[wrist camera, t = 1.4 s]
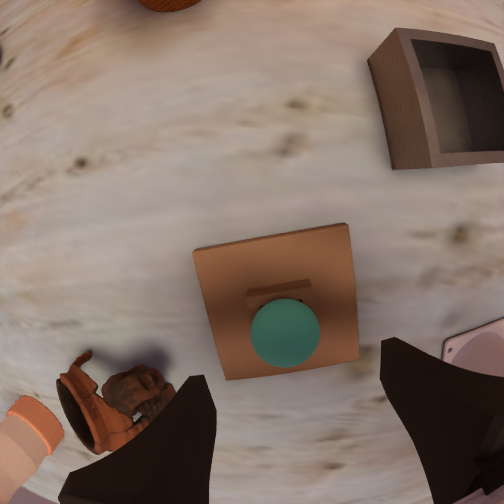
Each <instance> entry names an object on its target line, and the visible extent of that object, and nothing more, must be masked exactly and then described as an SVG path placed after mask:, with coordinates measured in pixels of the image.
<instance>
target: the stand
mask: <svg viewBox="0 0 504 504" xmlns="http://www.w3.org/2000/svg"><path fill="white" fill-rule="evenodd" d="M192 253H193V257H194V262H195V266H196V270H197V274H198V278H199V282H200V286H201V290H202V294H203V298H204V302H205V306H206V310H207V314H208V317H209V321H210V325H211V329H212V332H213V336H214V340H215V343H216V347H217V350H218V354H219V357H220V361H221V364H222V368H223V371H224V375H225V378H226V381H227V380H237V379H247V378H255V377H263V376H271V375H278V374H284V373H291V372H297V371H303V370H309V369H315V368H320V367H325V366H330V365H335V364H340V363H345V362H350V361H354V360H359V339H358V320H357V304H356V291H355V280H354V269H353V260H352V251H351V242H350V234H349V226H348V224H346V223H339V224H334V225H328V226H322V227H316V228H310V229H304V230H299V231H293V232H287V233H282V234H276V235H270V236H265V237H259V238H253V239H248V240H242V241H237V242H231V243H226V244H220V245H215V246H209V247H204V248H199V249H195V250H194V251H193V252H192ZM278 299H293V300H297V301H299V302H302V303H303V304H305V305H306V306H308V307H309V308H310V309H311V310H312V311H313V313H314V314H315V316H316V318H317V320H318V323H319V327H320V339H319V343H318V345H317V348H316V350H315V351H314V353H313V354H312V355H311V356H310V357H309V358H308V359H307V360H306V361H305V362H303V363H301V364H299V365H297V366H294V367H288V368H282V367H276V366H272V365H270V364H268V363H266V362H265V361H263V360H262V359H261V358H260V357H259V356H258V355H257V353H256V352H255V350H254V348H253V346H252V343H251V339H250V328H251V324H252V321H253V319H254V317H255V315H256V314H257V312H258V311H259V310H260V309H261V308H262V307H263V306H265V305H266V304H268V303H270V302H272V301H274V300H278Z"/></svg>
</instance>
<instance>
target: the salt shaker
mask: <svg viewBox="0 0 504 504" xmlns="http://www.w3.org/2000/svg"><path fill="white" fill-rule="evenodd" d="M63 437H64V431H63V429H62V426H61V424H60V423H59V421H58V420H57V418H56V417H55V416H54V415H53V414H52V413H51V412H50V410H49V409H47V408H46V407H45V406H44V405H43V404H42V403H40V402H39V401H37V400H36V399H34V398H32V397H29V396H22V397H21V398H20V399H19V400H18V401H17V402H16V403H15V404H14V405H13V406H12V407H11V408H10V409H9V410H8V411H7V414H6V418H5V419H4V420H3V421H2V422H1V423H0V504H7V503H8V502H9V500H10V499H11V497H12V496H13V494H14V493H15V492H16V490H17V489H18V488H19V487H20V486H21V485H22V484H23V483H24V482H25V481H26V480H27V479H29V478H30V477H31V476H32V475H33V474H34V473H35V472H36V471H37V469H38V467H39V466H40V464H41V463H42V461H43V460H44V458H45V457H46V456H48V455H51V454H52V452H53V451H54V450H55V448H56V447H57V445H58V444H59V443H60V441H61V440H62V438H63Z"/></svg>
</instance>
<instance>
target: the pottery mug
mask: <svg viewBox="0 0 504 504" xmlns="http://www.w3.org/2000/svg"><path fill="white" fill-rule="evenodd" d="M90 358H91V352H90V351H88V352H87V353H83V354H82V355H81V356H79V357H77V358H76V360H75V361H74V362H73V364H72V365H71V366H70V369H69V371H68V372H67V373H61V374H60V378H59V379H57V380H56V385H57V392H58V395H59V399H60V402H61V405H62V407H63V410H64V413H65V415H66V417H67V419H68V421H69V423H70V425H71V427H72V428H73V430H74V432H75V433H76V435H77V436H78V438H79V439H80V441H81V442H82V443H83V444H84V446H85V447H87V449H88V450H90V451H91V452H92V453H94V454H96V455H100V454H101V453H103V452H105V451H107V450H108V451H110V452H111V451H116V450H117V449H119V448H120V447H122V446H123V445H124V444H126V443H127V442H129V441H130V440H131V439H133V438H134V437H135V436H136V435H138V434H139V433H140V432H141V431H142V430H143V429H144V428H145V427H147V426H148V425H149V424H150V423H151V422H152V421H153V420H154V418H155V417H156V416H157V415H158V414H159V413H160V412H161V411H162V410H163V409H164V408H165V406H166V405H167V404H168V403H169V401H170V400H171V399H172V398H173V397H174V395H175V391H174V389H173V387H172V385H171V384H167V385H166V386H165V387H164V380H163V376H162V375H161V374H160V373H159V371H158V370H156V369H154V368H149V367H148V366H145V365H143V364H141V365H140V366H135V367H134V368H133V369H131V370H129V371H128V372H121V373H119V374H117V375H113V376H111V377H110V378H109V379H108V380H107V382H106V383H105V384H104V385H103V387H102V390H101V391H102V395H103V397H104V398H102V397H100V396H99V395H98V394H97V393H96V391H97V388H98V385H97V384H96V383H95V382H94V381H93V380H92V379H91V378H90V377H89V376H88V375H87V374H86V373H85V372H83V371H82V370H81V369H80V368H79V367H80V366H81V365H82V364H84V363H85V362H87V361H89V360H90ZM163 387H164V389H163ZM137 411H139V412H141V413H142V416H140V418H139V419H137V421H135V422H134V420H133V418H132V416H134V415H135V414H136V413H137Z"/></svg>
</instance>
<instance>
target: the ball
mask: <svg viewBox="0 0 504 504" xmlns="http://www.w3.org/2000/svg"><path fill="white" fill-rule="evenodd" d="M250 339H251V343H252V346H253V348H254V350H255V352H256V353H257V355H258V356H259V357H260V358H261V359H262V360H263V361H265V362H266V363H268V364H270V365H272V366H276V367H282V368H288V367H294V366H297V365H299V364H301V363H303V362H305V361H306V360H307V359H308V358H309V357H310V356H311V355H312V354H313V353H314V351H315V350H316V348H317V345H318V343H319V339H320V327H319V323H318V320H317V318H316V316H315V314H314V313H313V311H312V310H311V309H310V308H309V307H308V306H306V305H305V304H303V303H302V302H299V301H297V300H293V299H278V300H274V301H272V302H270V303H268V304H266V305H265V306H263V307H262V308H261V309H260V310H259V311H258V312H257V314H256V315H255V317H254V319H253V321H252V324H251V328H250Z"/></svg>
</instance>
